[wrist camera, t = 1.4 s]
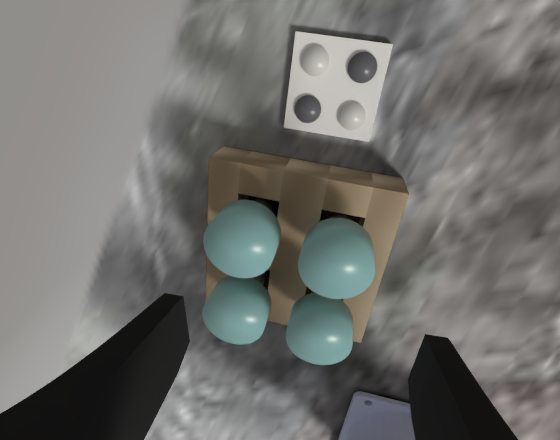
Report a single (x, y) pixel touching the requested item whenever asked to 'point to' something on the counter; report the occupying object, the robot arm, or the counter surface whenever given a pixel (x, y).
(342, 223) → the button
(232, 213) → the button
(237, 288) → the button
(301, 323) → the button
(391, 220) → the button board
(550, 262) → the counter surface
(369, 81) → the pattern card
